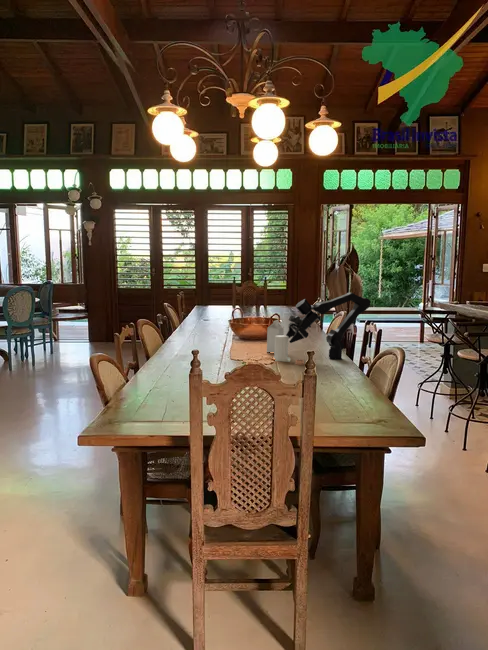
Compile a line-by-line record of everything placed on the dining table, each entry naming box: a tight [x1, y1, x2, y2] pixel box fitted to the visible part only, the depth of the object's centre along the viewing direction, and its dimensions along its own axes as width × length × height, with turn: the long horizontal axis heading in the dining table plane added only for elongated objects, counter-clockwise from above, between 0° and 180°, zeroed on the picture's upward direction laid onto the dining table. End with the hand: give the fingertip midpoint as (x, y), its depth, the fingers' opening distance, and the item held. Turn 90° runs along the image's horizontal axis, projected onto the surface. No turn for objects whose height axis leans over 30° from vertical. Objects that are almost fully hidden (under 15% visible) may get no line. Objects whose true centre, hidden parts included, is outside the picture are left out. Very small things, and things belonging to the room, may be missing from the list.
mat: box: [274, 356, 291, 362], centre depth 266 cm, size 10×10×1 cm
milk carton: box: [266, 319, 285, 353], centre depth 280 cm, size 7×7×19 cm
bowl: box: [295, 358, 305, 366], centre depth 256 cm, size 4×4×3 cm
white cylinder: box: [273, 334, 290, 362], centre depth 265 cm, size 7×7×12 cm
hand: (287, 340), depth 265 cm, fingers open, 9 cm apart
